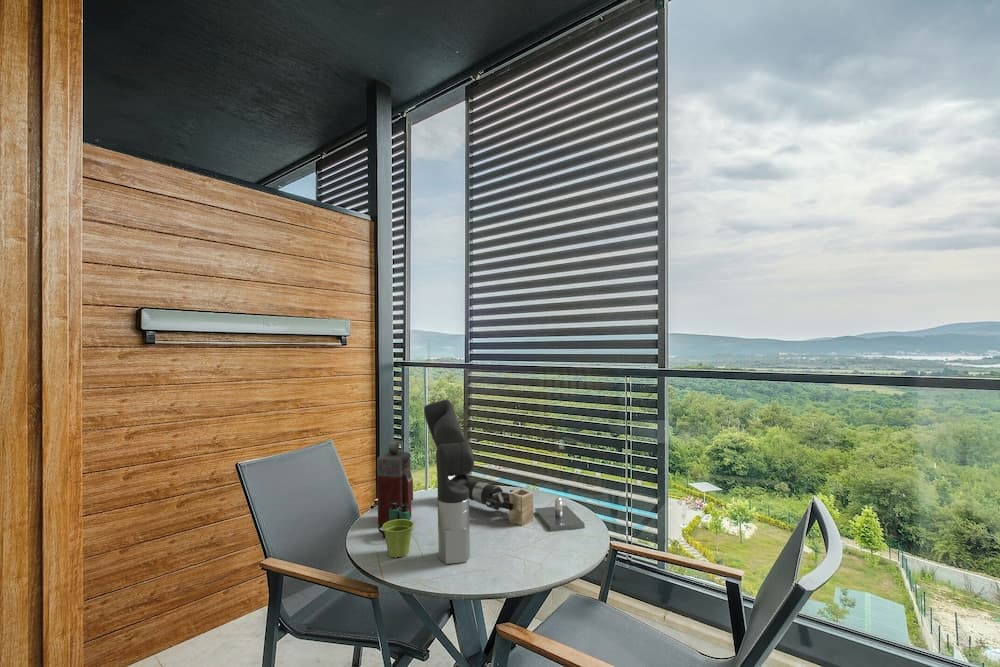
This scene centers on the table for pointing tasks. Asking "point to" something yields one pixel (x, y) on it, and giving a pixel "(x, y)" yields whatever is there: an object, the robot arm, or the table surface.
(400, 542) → the plant pot
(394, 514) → the binoculars
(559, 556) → the table surface
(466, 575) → the table surface
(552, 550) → the table surface
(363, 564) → the table surface
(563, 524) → the post plate
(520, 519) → the wooden sleeve
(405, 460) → the dark red bottle
